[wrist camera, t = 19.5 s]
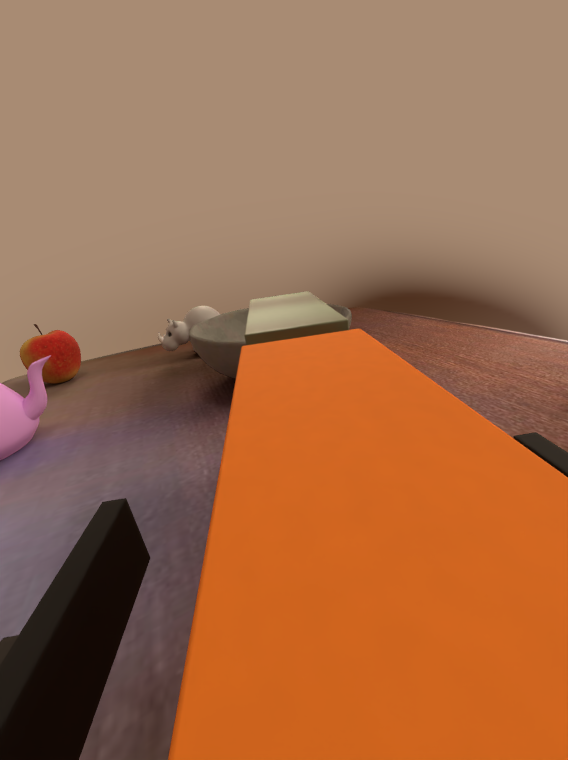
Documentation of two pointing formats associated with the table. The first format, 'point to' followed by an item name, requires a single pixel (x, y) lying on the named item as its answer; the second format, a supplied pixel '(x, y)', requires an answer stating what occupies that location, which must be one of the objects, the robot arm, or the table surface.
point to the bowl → (228, 339)
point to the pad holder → (290, 318)
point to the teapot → (21, 411)
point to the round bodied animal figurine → (185, 327)
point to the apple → (53, 355)
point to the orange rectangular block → (374, 572)
